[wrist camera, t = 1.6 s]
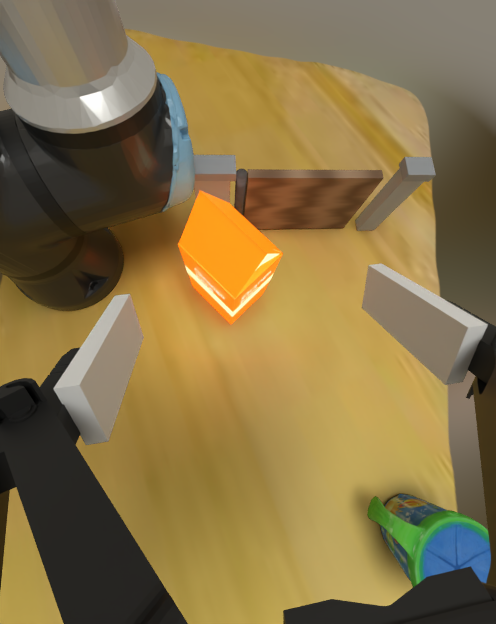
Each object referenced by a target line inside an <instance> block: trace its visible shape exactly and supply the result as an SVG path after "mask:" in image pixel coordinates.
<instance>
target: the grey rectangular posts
mask: <svg viewBox="0 0 496 624" xmlns="http://www.w3.org/2000/svg"><path fill="white" fill-rule="evenodd" d="M194 165H195V184H194V189H195V195H196V199H197V196H198V194H199V191H203V192H205V193H207V194H210V195H212V196H214V197H217V198H219V199H221V200H224V201H226V202H228V203H230V181H236V161H235V155H194ZM399 167H400V169H399V170H398V171H397V172H396V173H395V174H394V176H393V177H392V178H391V179H390V180H389V181H388V183H387V184H386V185H385V186H384V187H383V189H382V190H381V191H380V192H379V193H378V194H377V196H376V197H375V198H374V199H373V200H372V201H371V203H370V204H369V205H368V206H367V207H366V209H365V210H364V211H363V212H362V213H361V214H360V216H359V217H358V218H357V219H356V220H355V221H356V227H357V231H366V230H374V229H375V228H376V227H377V226H378V225H379V224H380V223H382V222H383V221H384V220H385V219H386V218H387V217H388V216H389V215H390V214H391V213H392V212H393V211H394V210H395V209H396V208H397V207H398V206H399V205H400V204H401V203H402V202H403V201H404V200H405V199H406V198H407V197H408V196H409V195H411V194H412V193H413V192H414V191H415V190H416V189H417V188H418V187H419V186H420V185H421V184H422V183H423V182H424V181H430V180H431V179H432V178H433V177H434V176H435V170H434V166H433V162H432V157H404V159H403V160H402V161H401V162H400V163H399Z"/></svg>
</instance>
